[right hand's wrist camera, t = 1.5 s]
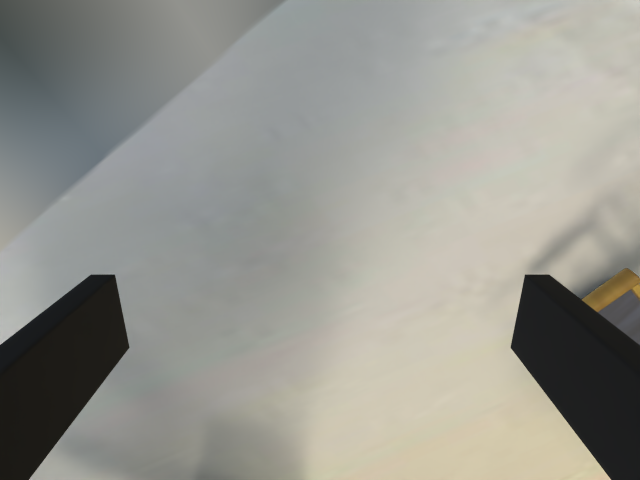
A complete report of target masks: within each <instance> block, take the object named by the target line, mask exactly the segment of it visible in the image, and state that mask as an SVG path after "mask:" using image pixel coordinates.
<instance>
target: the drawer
mask: <svg viewBox="0 0 640 480" xmlns="http://www.w3.org/2000/svg"><path fill="white" fill-rule="evenodd" d="M639 283H640V278H639V277H638V276H637V275H636V274H635V273H634V272H632V271H631V270H629V269H627V268H625V269H623V270H622V271H621V272H619V273H618V274H616V275H615V276H614V277H612V278H611V279H609V280H608V281H607V282H605V283H604V284H602V285H601V286H600V287H598V288H597V289H596V290H594V291H593V292H591V293H590V294H589V295H587V296H586V297H584V298H583V299H582V301H584V302H585V303H586V304H587V305H589V306H590V307H591V308H593V309H594V310H595V311H596V312H598V313H599V314H600V315H602V316H603V317H604V318H606V319H607V320H608V321H609V322H611V323H612V324H613V325H615V326H616V327H617V328H618V329H620V330H621V331H622V332H624V333H625V334H626V335H627V336H629V337H630V338H631V339H633V340H634V341H635V342H636V343H638V344H639V345H640V285H639Z"/></svg>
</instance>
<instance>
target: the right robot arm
mask: <svg viewBox="0 0 640 480" xmlns="http://www.w3.org/2000/svg"><path fill="white" fill-rule="evenodd" d="M128 349H129V343H128V338H127V333H126V328H125V323H124V318H123V313H122V308H121V303H120V298H119V293H118V288H117V283H116V278H115V275H90V276H89V277H87V278H86V279H85V280H83V281H82V282H81V283H80V284H78V285H77V286H76V287H74V288H73V289H72V290H71V291H69V292H68V293H67V294H65V295H64V296H63V297H62V298H60V299H59V300H58V301H56V302H55V303H54V304H53V305H51V306H50V307H49V308H47V309H46V310H45V311H44V312H42V313H41V314H40V315H38V316H37V317H36V318H34V319H33V320H32V321H31V322H29V323H28V324H27V325H25V326H24V327H23V328H22V329H20V330H19V331H18V332H16V333H15V334H14V335H13V336H11V337H10V338H9V339H7V340H6V341H5V342H4V343H2V344H1V345H0V480H29V479H30V477H31V476H32V475H33V473H34V472H35V471H36V469H37V468H38V467H39V466H40V464H41V463H42V462H43V460H44V459H45V458H46V456H47V455H48V454H49V452H50V451H51V450H52V448H53V447H54V446H55V444H56V443H57V442H58V441H59V439H60V438H61V437H62V435H63V434H64V433H65V431H66V430H67V429H68V427H69V426H70V425H71V423H72V422H73V421H74V420H75V418H76V417H77V416H78V414H79V413H80V412H81V410H82V409H83V408H84V406H85V405H86V404H87V402H88V401H89V400H90V398H91V397H92V396H93V395H94V393H95V392H96V391H97V389H98V388H99V387H100V385H101V384H102V383H103V381H104V380H105V379H106V377H107V376H108V375H109V374H110V372H111V371H112V370H113V368H114V367H115V366H116V364H117V363H118V362H119V360H120V359H121V358H122V356H123V355H124V354H125V353H126V351H127V350H128ZM511 349H512V350H513V351H514V353H515V354H516V355H517V356H518V358H519V359H520V360H521V362H522V363H523V364H524V366H525V367H526V368H527V370H528V371H529V372H530V374H531V375H532V376H533V377H534V379H535V380H536V381H537V383H538V384H539V385H540V387H541V388H542V389H543V391H544V392H545V393H546V395H547V396H548V397H549V398H550V400H551V401H552V402H553V404H554V405H555V406H556V408H557V409H558V410H559V412H560V413H561V414H562V416H563V417H564V418H565V420H566V421H567V422H568V423H569V425H570V426H571V427H572V429H573V430H574V431H575V433H576V434H577V435H578V437H579V438H580V439H581V441H582V442H583V443H584V444H585V446H586V447H587V448H588V450H589V451H590V452H591V454H592V455H593V456H594V458H595V459H596V460H597V462H598V463H599V464H600V466H601V467H602V468H603V469H604V471H605V472H606V473H607V475H608V476H609V477H610V479H611V480H640V345H639V344H638V343H636V342H635V341H634V340H633V339H631V338H630V337H629V336H627V335H626V334H625V333H624V332H622V331H621V330H620V329H618V328H617V327H616V326H615V325H613V324H612V323H611V322H609V321H608V320H607V319H606V318H604V317H603V316H602V315H600V314H599V313H598V312H596V311H595V310H594V309H593V308H591V307H590V306H589V305H587V304H586V303H585V302H584V301H582V300H581V299H580V298H578V297H577V296H576V295H575V294H573V293H572V292H571V291H569V290H568V289H567V288H566V287H564V286H563V285H562V284H560V283H559V282H558V281H557V280H555V279H554V278H553V277H551V276H550V275H525V278H524V283H523V288H522V293H521V298H520V303H519V308H518V313H517V318H516V323H515V328H514V333H513V338H512V343H511Z"/></svg>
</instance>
